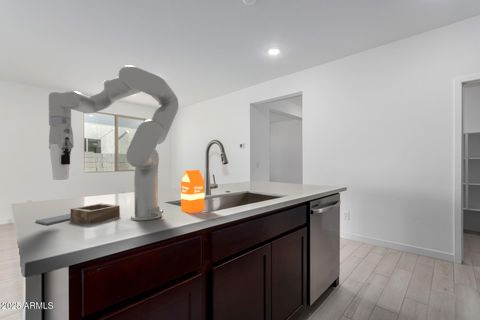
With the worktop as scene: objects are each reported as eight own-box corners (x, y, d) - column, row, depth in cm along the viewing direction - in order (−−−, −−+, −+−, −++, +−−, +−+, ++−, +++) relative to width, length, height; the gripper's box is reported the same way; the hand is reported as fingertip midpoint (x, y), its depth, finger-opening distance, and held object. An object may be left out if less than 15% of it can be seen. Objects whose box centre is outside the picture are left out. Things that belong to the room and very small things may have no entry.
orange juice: (180, 210, 115) (180, 170, 115) (195, 207, 121) (194, 169, 121) (190, 212, 110) (190, 170, 109) (204, 209, 116) (204, 170, 116)
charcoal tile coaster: (84, 216, 103) (84, 215, 103) (47, 225, 91) (47, 223, 91) (72, 214, 107) (72, 213, 107) (35, 222, 94) (35, 220, 94)
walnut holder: (119, 216, 103) (119, 205, 103) (89, 224, 91) (89, 211, 91) (101, 214, 108) (100, 203, 108) (70, 220, 97) (70, 208, 97)
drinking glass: (59, 180, 95) (59, 143, 95) (46, 180, 96) (45, 144, 96) (74, 178, 101) (74, 144, 101) (61, 178, 103) (61, 145, 103)
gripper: (81, 122, 98) (82, 164, 98) (58, 125, 106) (59, 164, 106) (61, 119, 92) (62, 164, 92) (39, 122, 99) (39, 164, 99)
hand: (60, 164), depth 99 cm, fingers closed on drinking glass, 6 cm apart
